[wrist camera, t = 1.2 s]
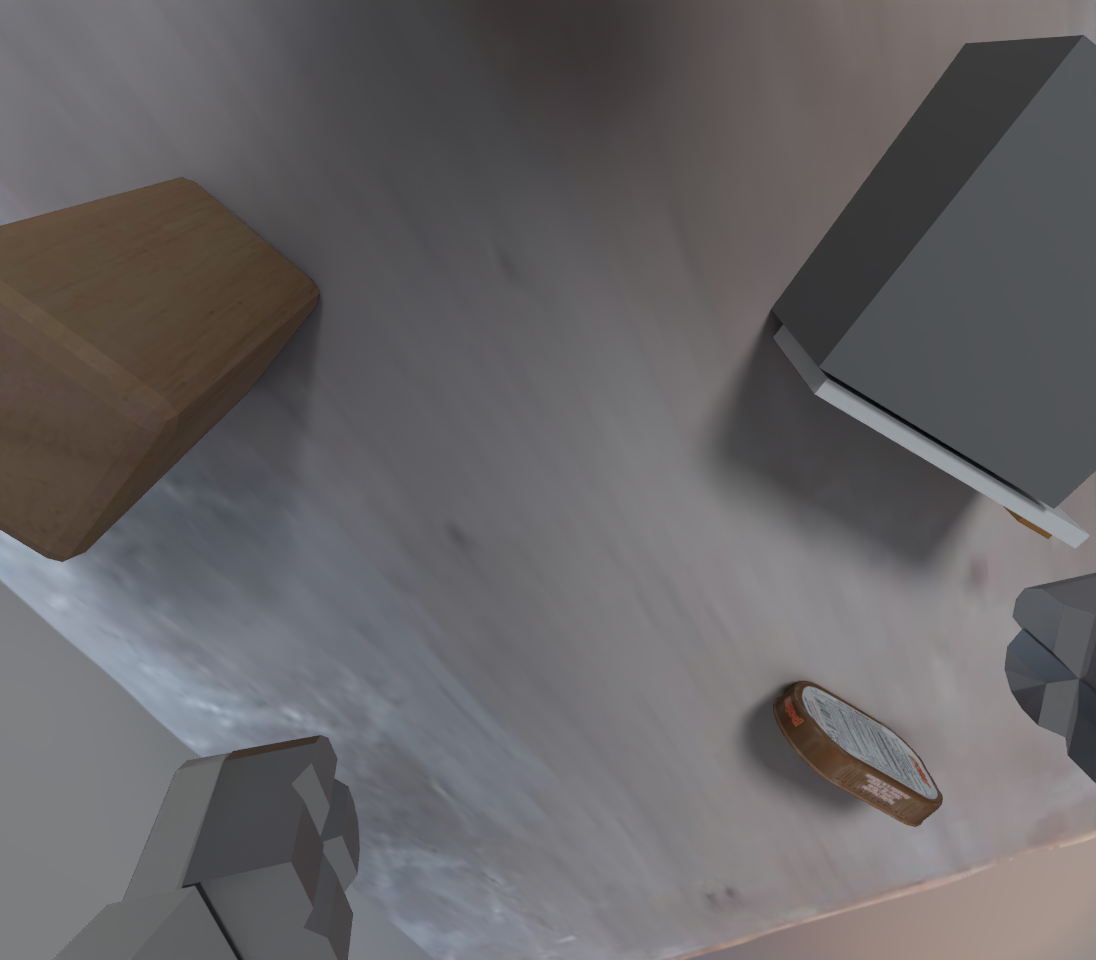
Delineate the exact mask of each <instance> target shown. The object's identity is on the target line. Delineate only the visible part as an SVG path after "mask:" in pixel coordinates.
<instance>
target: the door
mask: <svg viewBox="0 0 1096 960" xmlns="http://www.w3.org/2000/svg"><path fill="white" fill-rule="evenodd" d="M773 339H774V340H775V341H776V343H777V344H778V345H779V347H780V348H781V349H782V351H783V352H784V353H785V355H786V356H787V358H788V359H789V360H790V362H791V363H792V364H793V366H794V367H795V368H796V370H797V371H798V372H799V374H800V375H801V376H802V378H803V379H804V380H805V382H806V383H807V385H808V386H809V387H810V389H811V390H812V391H813V393H814V394H815V395H817V396H819V397H820V398H822V399H824V400H825V401H827V402H829V403H830V404H832V405H834V406H835V407H837V408H839V409H840V410H842V411H844V412H846V413H847V414H849V415H851V416H852V417H854V418H856V419H857V420H859V421H861V422H862V423H864V424H866V425H868V426H869V427H871V428H873V429H874V430H876V431H878V432H879V433H881V434H883V435H884V436H886V437H888V438H890V439H891V440H893V441H895V442H896V443H898V444H900V445H901V446H903V447H905V448H906V449H908V450H910V451H911V452H913V453H915V454H917V455H918V456H920V457H922V458H923V459H925V460H927V461H928V462H930V463H932V464H933V465H935V466H937V467H939V468H940V469H942V470H944V471H945V472H947V473H949V474H950V475H952V476H954V477H955V478H957V479H959V480H960V481H962V482H964V483H966V484H967V485H969V486H971V487H972V488H974V489H976V490H977V491H979V492H981V493H982V494H984V495H986V496H988V497H989V498H991V499H993V500H994V501H996V502H998V503H999V504H1001V505H1002V506H1003V507H1004V508H1005V509H1006V510H1007V511H1008V512H1009V513H1010V514H1011V515H1012V516H1013V517H1014V518H1015V519H1016V520H1017V521H1018V522H1020V523H1022V524H1023V525H1025V526H1027V527H1029V528H1030V529H1032V530H1034V531H1035V532H1037V533H1039V534H1040V535H1042V536H1044V537H1046V538H1047V539H1049V538H1050V537H1051V536H1052V535H1053V536H1055V537H1057V538H1059V539H1060V540H1062V541H1064V542H1065V543H1067V544H1069V545H1070V546H1072V547H1074V548H1077V547H1078V546H1079V545H1080V544H1081V543H1082V542H1083V541H1085V540H1086V539H1087V538H1088V537H1089V536H1090V535H1089V534H1088V533H1086V532H1085V531H1084V530H1083V529H1082V528H1081V527H1080V526H1079V525H1078V524H1076V523H1075V522H1074V521H1073V520H1072V519H1071V518H1070V517H1069V516H1068V515H1066V514H1065V513H1064V512H1063V511H1062V510H1061V509H1060V508H1059V507H1058V506H1057V507H1056V508H1055V509H1053V508H1051V507H1050V506H1048V505H1046V504H1045V503H1043V502H1041V501H1040V500H1038V499H1036V498H1035V497H1033V496H1031V495H1030V494H1028V493H1026V492H1025V491H1023V490H1021V489H1020V488H1018V487H1017V486H1015V485H1013V484H1012V483H1010V482H1008V481H1007V480H1005V479H1003V478H1002V477H1000V476H998V475H997V474H995V473H993V472H992V471H990V470H988V469H987V468H985V467H983V466H982V465H980V464H978V463H977V462H975V461H973V460H972V459H970V458H968V457H967V456H965V455H963V454H962V453H960V452H958V451H957V450H955V449H953V448H952V447H950V446H948V445H947V444H945V443H943V442H942V441H940V440H938V439H937V438H935V437H934V436H932V435H930V434H929V433H927V432H925V431H924V430H922V429H920V428H919V427H917V426H915V425H914V424H912V423H910V422H909V421H907V420H905V419H904V418H902V417H900V416H899V415H897V414H895V413H894V412H892V411H890V410H889V409H887V408H885V407H884V406H882V405H880V404H879V403H877V402H875V401H874V400H872V399H870V398H869V397H867V396H865V395H864V394H862V393H860V392H859V391H857V390H856V389H854V388H852V387H851V386H849V385H847V384H846V383H844V382H842V381H841V380H839V379H837V378H836V377H834V376H832V375H831V374H829V373H827V372H826V371H824V370H822V369H821V368H819V367H818V366H817V365H816V363H815V362H814V361H813V360H812V359H811V357H810V356H809V355H808V354H807V352H806V351H805V350H804V349H803V348H802V346H801V345H800V344H799V343H798V342H797V340H796V339H795V338H794V337H793V335H792V334H791V333H790V332H789V331H788V329H787V328H786V327H785V326H784V324H783V325H782V326H781V328H780V329H779V330H778V332H777V333H776V334H775V336H774V337H773Z"/></svg>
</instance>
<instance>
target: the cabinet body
mask: <svg viewBox="0 0 1096 960" xmlns="http://www.w3.org/2000/svg"><path fill="white" fill-rule="evenodd" d="M771 310H772V311H773V312H774V313H775V315H776V316H777V317H778V318H779V320H780V321H781V322H782V323H783V324H784V326H785V327H786V328H787V329H788V331H789V332H790V333H791V334H792V335H793V337H794V338H795V339H796V340H797V342H798V343H799V344H800V345H801V346H802V348H803V349H804V350H805V351H806V352H807V354H808V355H809V356H810V357H811V359H812V360H813V361H814V362H815V363H816V365H817V366H818V367H819V368H821V369H822V370H824V371H826V372H827V373H829V374H831V375H832V376H834V377H836V378H837V379H839V380H841V381H842V382H844V383H846V384H847V385H849V386H851V387H852V388H854V389H856V390H857V391H859V392H860V393H862V394H864V395H865V396H867V397H869V398H870V399H872V400H874V401H875V402H877V403H879V404H880V405H882V406H884V407H885V408H887V409H889V410H890V411H892V412H894V413H895V414H897V415H899V416H900V417H902V418H904V419H905V420H907V421H909V422H910V423H912V424H914V425H915V426H917V427H919V428H920V429H922V430H924V431H925V432H927V433H929V434H930V435H932V436H934V437H935V438H937V439H938V440H940V441H942V442H943V443H945V444H947V445H948V446H950V447H952V448H953V449H955V450H957V451H958V452H960V453H962V454H963V455H965V456H967V457H968V458H970V459H972V460H973V461H975V462H977V463H978V464H980V465H982V466H983V467H985V468H987V469H988V470H990V471H992V472H993V473H995V474H997V475H998V476H1000V477H1002V478H1003V479H1005V480H1007V481H1008V482H1010V483H1012V484H1013V485H1015V486H1017V487H1018V488H1020V489H1021V490H1023V491H1025V492H1026V493H1028V494H1030V495H1031V496H1033V497H1035V498H1036V499H1038V500H1040V501H1041V502H1043V503H1045V504H1046V505H1048V506H1050V507H1051V508H1053V509H1055V508H1056V507H1057V506H1058V505H1059V504H1060V503H1061V502H1062V501H1063V500H1064V499H1065V498H1066V497H1068V496H1069V495H1070V494H1071V493H1072V492H1073V491H1074V490H1075V489H1076V488H1077V487H1078V486H1079V485H1081V484H1082V483H1083V482H1084V481H1085V480H1086V479H1087V478H1088V477H1089V476H1090V475H1091V474H1092V473H1094V472H1095V471H1096V45H1095V44H1094V43H1093V42H1091V41H1090V40H1089V39H1088V38H1086V37H1085V36H1084V35H1079V36H1065V37H1051V38H1037V39H1023V40H1009V41H995V42H981V43H966V44H965V45H964V47H963V48H962V49H961V51H960V52H959V54H958V55H957V56H956V58H955V59H954V60H953V62H952V63H951V64H950V66H949V67H948V69H947V70H946V71H945V73H944V74H943V75H942V77H941V78H940V79H939V81H938V82H937V84H936V85H935V86H934V88H933V89H932V90H931V92H930V93H929V95H928V96H927V97H926V99H925V100H924V101H923V103H922V104H921V105H920V107H919V108H918V110H917V111H916V112H915V114H914V115H913V116H912V118H911V119H910V120H909V122H908V123H907V125H906V126H905V127H904V129H903V130H902V131H901V133H900V134H899V135H898V137H897V138H896V140H895V141H894V142H893V144H892V145H891V146H890V148H889V149H888V151H887V152H886V153H885V155H884V156H883V157H882V159H881V160H880V161H879V163H878V164H877V166H876V167H875V168H874V170H873V171H872V172H871V174H870V175H869V176H868V178H867V179H866V181H865V182H864V183H863V185H862V186H861V187H860V189H859V190H858V192H857V193H856V194H855V196H854V197H853V198H852V200H851V201H850V202H849V204H848V205H847V207H846V208H845V209H844V211H843V212H842V213H841V215H840V216H839V217H838V219H837V220H836V222H835V223H834V224H833V226H832V227H831V228H830V230H829V231H828V233H827V234H826V235H825V237H824V238H823V239H822V241H821V242H820V243H819V245H818V246H817V248H816V249H815V250H814V252H813V253H812V254H811V256H810V257H809V258H808V260H807V261H806V263H805V264H804V265H803V267H802V268H801V269H800V271H799V272H798V274H797V275H796V276H795V278H794V279H793V280H792V282H791V283H790V284H789V286H788V287H787V289H786V290H785V291H784V293H783V294H782V295H781V297H780V298H779V299H778V301H777V302H776V304H775V305H774V306H773V308H772V309H771Z"/></svg>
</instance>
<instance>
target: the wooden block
mask: <svg viewBox="0 0 1096 960" xmlns="http://www.w3.org/2000/svg"><path fill="white" fill-rule="evenodd" d="M319 294H320V290H319V288H318V287H317V285H316V284H315V282H314V281H313V280H311V279H310V278H309V277H308V276H307V275H305V274H304V273H303V272H302V271H301V270H299V269H298V268H297V267H296V266H295V265H293V264H292V263H291V262H290V261H289V260H287V259H286V258H285V257H284V256H283V255H281V254H280V253H279V252H278V251H277V250H275V249H274V248H273V247H272V246H271V245H269V244H268V243H267V242H266V241H265V240H263V239H262V238H261V237H260V236H259V235H257V234H256V233H255V232H254V231H253V230H251V229H250V228H249V227H248V226H247V225H245V224H244V223H243V222H242V221H241V220H239V219H238V218H237V217H236V216H235V215H233V214H232V213H231V212H230V211H229V210H227V209H226V208H225V207H224V206H223V205H221V204H220V203H219V202H218V201H217V200H215V199H214V198H213V197H212V196H211V195H209V194H208V193H207V192H206V191H205V190H203V189H202V188H201V187H200V186H199V185H197V184H196V183H195V182H192V181H189V180H187V179H184V178H182V177H181V178H177V179H174V180H170V181H166V182H162V183H159V184H155V185H151V186H147V187H144V188H140V189H136V190H133V191H129V192H125V193H121V194H118V195H114V196H110V197H107V198H103V199H99V200H95V201H92V202H88V203H84V204H80V205H77V206H73V207H69V208H66V209H62V210H58V211H54V212H51V213H47V214H43V215H39V216H36V217H32V218H28V219H25V220H21V221H17V222H13V223H10V224H6V225H2V226H0V530H2V531H3V532H5V533H7V534H8V535H10V536H12V537H13V538H15V539H17V540H18V541H20V542H21V543H23V544H25V545H26V546H28V547H30V548H31V549H33V550H35V551H36V552H38V553H40V554H41V555H43V556H44V557H46V558H49V559H53V560H57V561H61V562H63V561H65V560H68V559H70V558H72V557H75V556H77V555H79V554H82V553H84V552H86V551H87V550H88V549H89V548H90V547H91V546H92V545H93V544H94V543H95V542H96V541H97V540H98V539H99V538H100V537H101V536H102V535H103V534H104V533H105V532H106V531H107V530H108V529H109V528H110V527H111V526H112V525H113V524H114V523H115V522H116V521H117V520H118V519H119V518H120V517H122V516H123V515H124V514H125V513H126V512H127V511H128V510H129V509H130V508H131V507H132V506H133V505H134V504H135V503H136V502H137V501H138V500H139V499H140V498H141V497H142V496H143V495H144V494H145V493H146V492H147V491H148V490H149V489H150V488H151V487H152V486H153V485H154V484H155V483H156V482H157V481H158V480H159V479H160V478H161V477H162V476H163V475H164V474H165V473H166V472H167V471H168V470H169V469H171V468H172V467H173V466H174V465H175V464H176V463H177V462H178V461H179V460H180V459H181V458H182V457H183V456H184V455H185V454H186V453H187V452H188V451H189V450H190V449H191V448H192V447H193V446H194V445H195V444H196V443H197V442H198V441H199V440H200V439H201V438H202V437H203V436H204V435H205V434H206V433H207V432H208V431H209V430H210V429H211V428H212V427H213V426H214V425H215V424H216V423H217V422H218V421H219V420H221V419H222V418H223V417H224V416H225V415H226V414H227V413H228V412H229V411H230V410H231V409H232V408H233V407H234V406H235V405H236V404H237V403H238V402H239V401H240V400H241V399H242V398H243V397H244V396H245V395H246V394H247V393H248V392H249V391H250V389H251V388H252V387H253V385H254V384H255V383H256V382H257V380H258V379H259V378H260V377H261V375H262V374H263V373H264V371H265V370H266V369H267V368H268V366H269V365H270V364H271V363H272V361H273V360H274V359H275V357H276V356H277V355H278V354H279V352H280V351H281V350H282V349H283V347H284V346H285V345H286V343H287V342H288V341H289V340H290V338H291V337H292V336H293V335H294V333H295V332H296V331H297V329H298V328H299V327H300V326H301V324H302V323H303V322H304V321H305V319H306V318H307V317H308V315H309V314H310V313H311V312H312V310H313V309H314V308H315V307H316V305H317V303H318V299H319Z"/></svg>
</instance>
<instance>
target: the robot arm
mask: <svg viewBox="0 0 1096 960" xmlns="http://www.w3.org/2000/svg"><path fill="white" fill-rule="evenodd" d="M1013 618H1014V619H1015V621H1016V622H1017V623H1018V624H1019V626H1020V627H1021V628H1022V630H1021V631H1020V632H1019V633H1018V635H1017V636H1016V637H1015V638H1014V639H1013V640H1012V642H1011V643H1010V644H1009V645H1008V646H1007V653H1006V661H1005V672H1006V676H1007V679H1008V683H1009V686H1010V689H1011V692H1012V694H1013V695H1014V697H1015V698H1016V700H1017V702H1018V703H1019V705H1020V706H1021V708H1022V709H1023V710H1024V711H1025V712H1026V713H1027V714H1028V716H1029V717H1030V718H1031V719H1032V720H1033V721H1034V722H1035V723H1036V724H1037V725H1038V726H1041V727H1043V728H1045V729H1048V730H1050V731H1052V732H1054V733H1057V734H1059V735H1061V736H1064V737H1065V738H1066V746H1067V754H1068V756H1069V757H1070V758H1071V759H1072V760H1073V761H1074V762H1075V763H1076V764H1077V765H1078V766H1079V767H1080V768H1081V769H1082V770H1083V771H1084V772H1085V773H1086V774H1087V775H1088V776H1089V777H1090V778H1091V779H1092V780H1093V781H1094V782H1095V783H1096V573H1093V574H1088V575H1084V576H1079V577H1075V578H1070V579H1065V580H1061V581H1056V582H1052V583H1047V584H1042V585H1038V586H1033V587H1029V588H1025V589H1024V590H1023V591H1022V592H1021V594H1020V595H1019V596H1018V597H1017V599H1016V602H1015V607H1014V612H1013ZM336 764H337V757H336V755H335V752H334V750H333V748H332V745H331V743H330V741H329V739H328V738H327V737H325V736H322V735H319V736H313V737H308V738H302V739H297V740H291V741H286V742H281V743H275V744H270V745H264V746H259V747H253V748H248V749H242V750H237V751H233V752H232V753H227V754H221V755H216V756H210V757H204V758H199V759H193V760H187V761H186V762H185V763H184V764H183V765H182V766H181V767H180V768H179V769H178V770H177V771H176V772H175V774H174V777H173V779H172V781H171V784H170V786H169V789H168V791H167V794H166V796H165V798H164V801H163V803H162V806H161V808H160V811H159V813H158V815H157V818H156V820H155V823H154V825H153V828H152V830H151V833H150V835H149V837H148V840H147V842H146V845H145V847H144V850H143V852H142V854H141V857H140V859H139V862H138V864H137V867H136V869H135V871H134V874H133V876H132V879H131V881H130V884H129V886H128V889H127V891H126V893H125V896H124V898H123V901H121V902H118V903H113V904H109V905H106V906H105V907H104V908H103V909H102V910H101V911H100V913H98V914H97V915H96V916H95V917H94V918H93V919H92V920H91V922H89V923H88V924H87V925H86V927H84V928H83V929H82V930H81V932H79V933H78V934H77V935H76V936H75V937H74V938H73V939H72V940H71V941H70V942H69V943H68V944H67V945H66V946H65V947H64V948H63V949H62V950H61V951H60V952H59V953H58V954H57V955H56V956H55V957H54V958H53V959H52V960H348V952H349V945H350V936H351V927H352V918H353V912H352V910H351V908H350V905H349V903H348V900H347V898H346V896H345V893H344V892H345V890H346V889H347V888H348V886H349V885H350V884H351V882H352V881H353V880H354V878H355V877H356V875H357V872H358V862H359V851H360V848H359V829H358V819H357V814H356V810H355V805H354V801H353V798H352V796H351V793H350V790H349V788H348V786H346V785H344V784H343V783H341V782H339V781H338V780H336V779H334V777H335V771H336Z"/></svg>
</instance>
